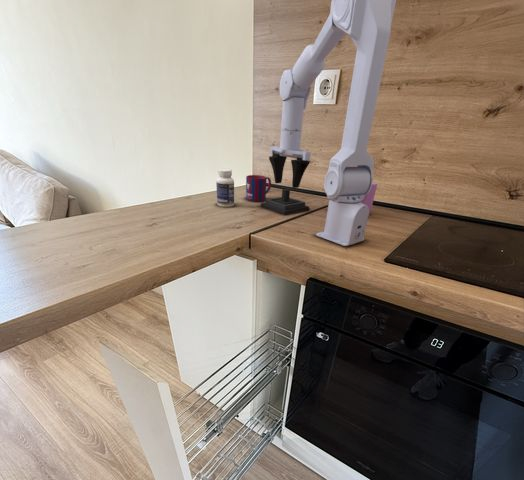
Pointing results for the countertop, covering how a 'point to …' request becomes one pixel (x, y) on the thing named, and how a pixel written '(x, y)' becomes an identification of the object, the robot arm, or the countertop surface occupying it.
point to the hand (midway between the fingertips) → (286, 185)
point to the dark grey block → (285, 197)
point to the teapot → (370, 197)
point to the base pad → (284, 206)
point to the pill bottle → (225, 188)
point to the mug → (256, 187)
